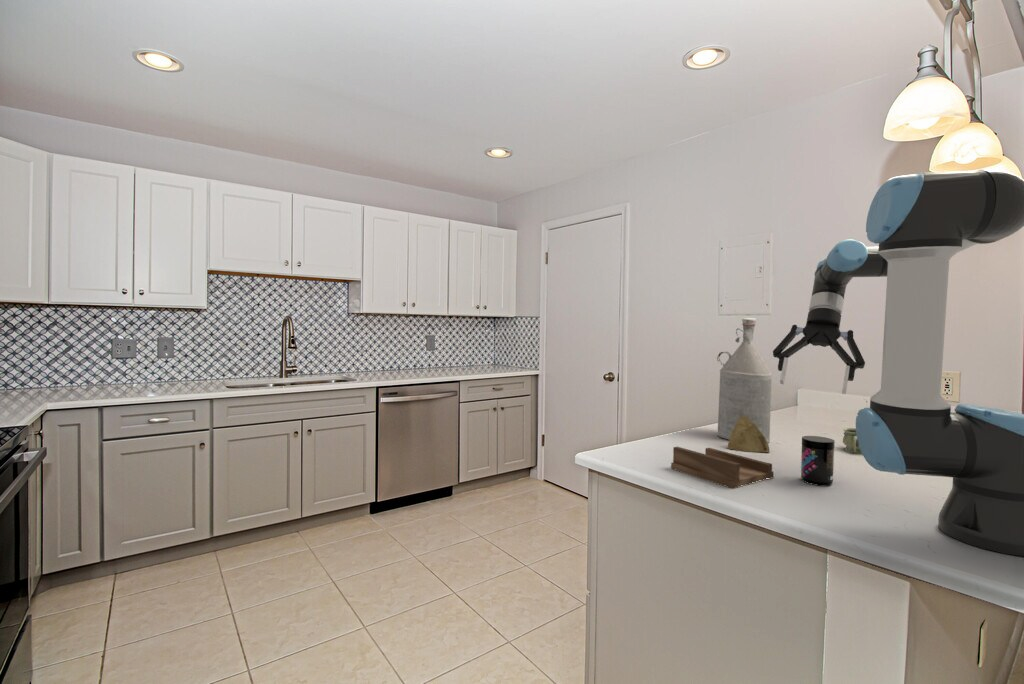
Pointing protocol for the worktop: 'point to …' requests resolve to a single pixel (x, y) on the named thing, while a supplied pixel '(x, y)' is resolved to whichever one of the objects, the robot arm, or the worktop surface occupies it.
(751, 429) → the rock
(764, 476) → the walnut rack
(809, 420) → the worktop surface
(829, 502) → the worktop surface
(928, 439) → the robot arm
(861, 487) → the worktop surface
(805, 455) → the supplement container
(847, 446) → the vessel
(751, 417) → the grey jug
